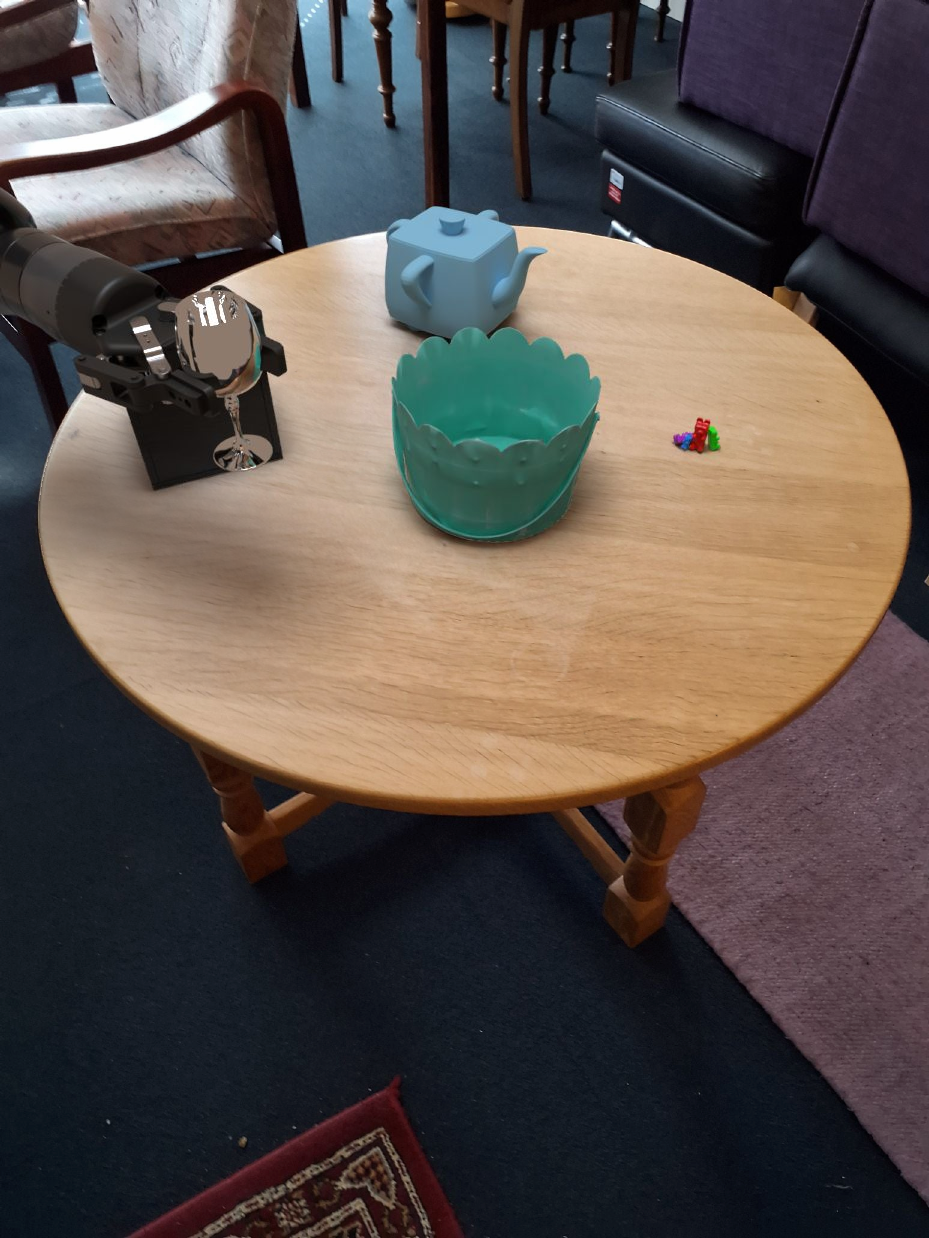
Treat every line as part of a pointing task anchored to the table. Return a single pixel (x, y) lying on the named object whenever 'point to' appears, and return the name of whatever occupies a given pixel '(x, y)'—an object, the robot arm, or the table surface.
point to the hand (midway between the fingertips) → (248, 382)
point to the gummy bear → (699, 436)
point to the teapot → (454, 271)
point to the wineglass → (223, 364)
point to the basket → (492, 432)
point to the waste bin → (199, 435)
